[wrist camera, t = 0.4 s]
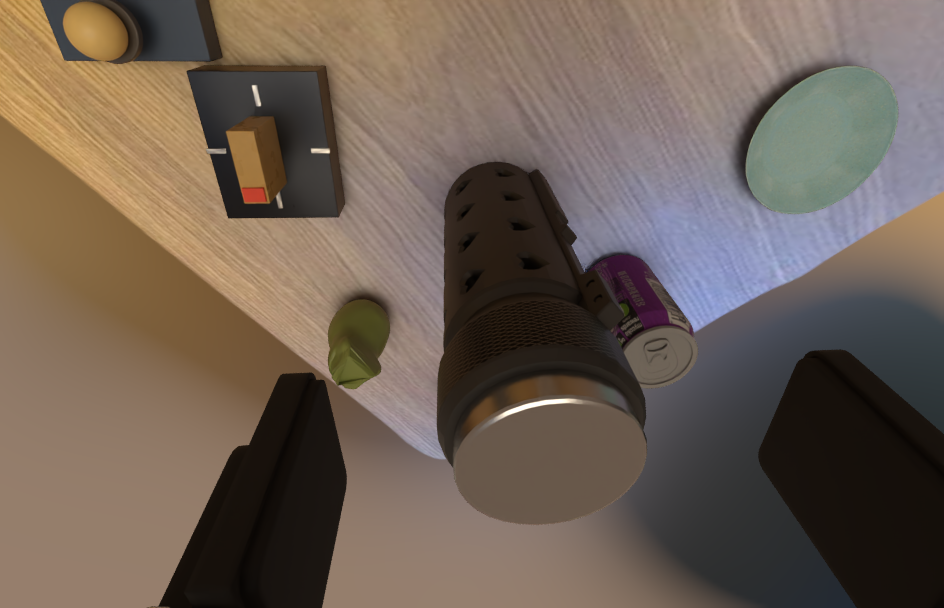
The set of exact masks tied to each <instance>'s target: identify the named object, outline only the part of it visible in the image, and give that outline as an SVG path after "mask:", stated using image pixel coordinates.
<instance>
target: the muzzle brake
mask: <svg viewBox="0 0 944 608" xmlns="http://www.w3.org/2000/svg"><path fill="white" fill-rule="evenodd" d="M444 219H445V225H444V248H445V253H444V282H445V286H444V326H445V328H444V354H443V357H442V359H441V361H440V366H439V372H438V389H437V433H438V440H439V443H440V445H441V448H442V450H443V453H444V455H445V457H446V458H447V460H448V462H449V463H450V464H451V466H452V467H453V469H454V479H455V482H456V484H457V487H458V489H459V491H460V493H461V494H462V496H463V497H464V498H465V500H466V501H467V502H468V503H469V504H470V505H471V506H472V507H474V508H475V509H476V510H477V511H479V512H481V513H483V514H485V515H487V516H489V517H492V518H495V519H498V520H501V521H505V522H510V523H516V524H529V525H540V524H541V525H542V524H555V523H560V522H566V521H571V520H574V519H578V518H581V517H584V516H587V515H589V514H592V513H594V512H596V511H599V510H601V509H603V508H605V507H606V506H608V505H609V504H611V503H613V502H614V501H616V500H617V499H618V498H620V497H621V496H622V495H623V494H624V493H626V491H628V490H629V489H630V488H631V486H632V485H633V484H634V482H636V480H637V479H638V477H639V475H640V473H641V472H642V469H643V468H644V464H645V460H646V456H647V440H646V437H645V433H644V431H643V429H644V425H645V419H646V407H645V397H644V395H643V392H642V390H641V387H640V384H639V382H638V380H637V378H636V376H635V374H634V372H633V370H632V368H631V366H630V364H629V362H628V360H627V358H626V356H625V354H624V352H623V350H622V348H621V346H620V344H619V342H618V340H617V338H616V337H615V336H614V335H613V334H612V333H611V330H612V329H613V328H614V327H615V326H616V325H617V324H618V323H619V322H620V321H621V320H622V319H623V318H624V312H623V311H622V309H621V307H620V305H619V303H618V302H617V300H616V298H615V296H614V294H613V293H612V291H611V289H610V287H609V285H608V283H607V282H606V281H605V280H604V278H603V277H602V276H601V275H600V274H599V273H598V271H597V270H593V271H590V272H587V273H585V272H584V270H583V268H582V266H581V264H580V262H579V260H578V258H577V256H576V254H575V252H574V250H573V248H572V246H571V245H572V244H573V243H574V241H575V240H576V239H577V237H576V235H575V234H574V232H573V231H572V230H571V229H570V228H569V227H568V225H567V223H568V220H567V218H566V216H565V214H564V212H563V210H562V208H561V207H560V205H559V203H558V201H557V199H556V197H555V195H554V193H553V191H552V190H551V188H550V186H549V184H548V182H547V180H546V179H545V177H544V176H543V175H542V174H541V173H540V171H539V170H535V171H534V172H532V173H530V174H528V173H527V172H525V171H524V170H522V169H521V168H519V167H517V166H514V165H511V164H508V163H502V162H491V163H485V164H481V165H478V166H476V167H473V168H471V169H469V170H468V171H466V172H465V173H464V174H462V175H461V176H460V177H459V178H458V179H457V180H456V181H455V183H454V184H453V186H452V187H451V189H450V191H449V193H448V195H447V198H446V201H445V209H444Z"/></svg>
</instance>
